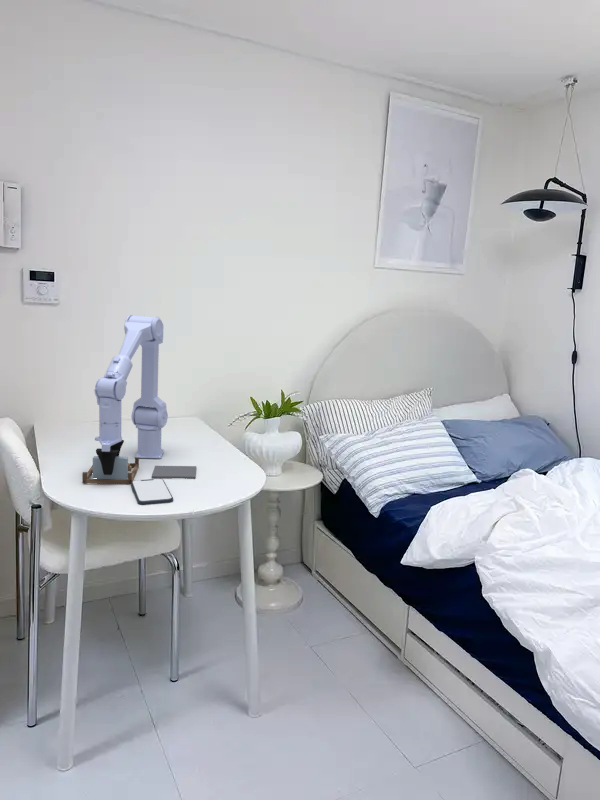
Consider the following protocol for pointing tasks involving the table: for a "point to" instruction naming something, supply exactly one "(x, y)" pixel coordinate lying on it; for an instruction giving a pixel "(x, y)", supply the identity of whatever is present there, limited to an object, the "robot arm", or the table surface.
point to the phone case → (151, 491)
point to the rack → (112, 481)
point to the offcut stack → (129, 467)
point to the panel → (118, 471)
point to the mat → (174, 472)
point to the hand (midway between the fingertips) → (110, 470)
